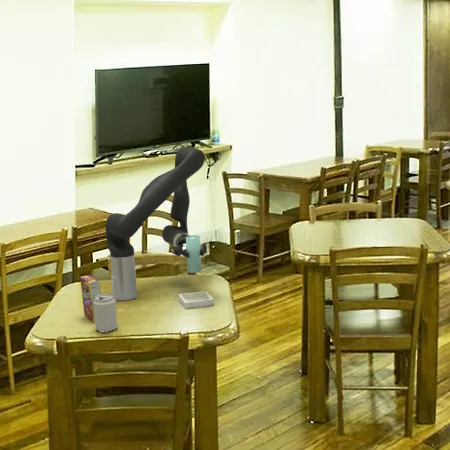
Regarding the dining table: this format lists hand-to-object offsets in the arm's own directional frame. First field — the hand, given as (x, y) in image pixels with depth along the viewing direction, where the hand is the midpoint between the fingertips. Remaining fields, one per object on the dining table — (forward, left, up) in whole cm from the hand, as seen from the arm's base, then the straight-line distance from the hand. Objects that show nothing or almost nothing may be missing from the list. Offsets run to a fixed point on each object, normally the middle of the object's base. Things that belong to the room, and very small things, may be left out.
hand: (195, 254), depth 284 cm
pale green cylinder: (0, +3, -7) cm, 7 cm away
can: (-36, -12, -20) cm, 43 cm away
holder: (0, +3, -20) cm, 20 cm away
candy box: (-39, +1, -20) cm, 44 cm away
